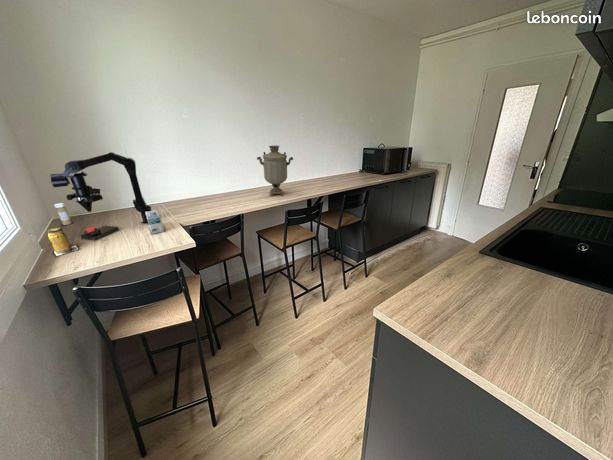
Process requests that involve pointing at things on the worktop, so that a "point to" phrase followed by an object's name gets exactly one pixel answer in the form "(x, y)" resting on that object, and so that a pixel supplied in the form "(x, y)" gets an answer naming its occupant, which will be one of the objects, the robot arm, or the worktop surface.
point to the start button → (90, 229)
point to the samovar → (275, 168)
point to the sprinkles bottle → (63, 213)
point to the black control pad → (99, 233)
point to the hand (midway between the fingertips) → (90, 211)
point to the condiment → (60, 241)
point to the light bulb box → (154, 221)
